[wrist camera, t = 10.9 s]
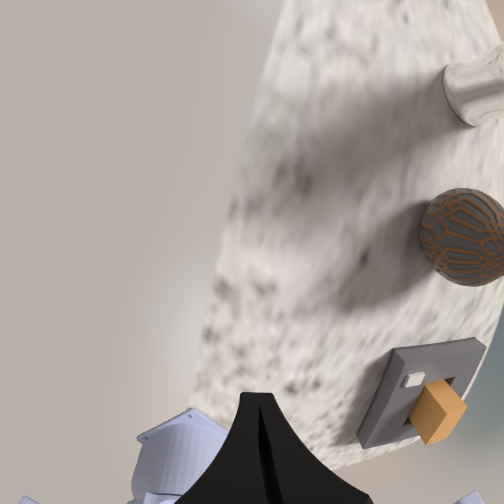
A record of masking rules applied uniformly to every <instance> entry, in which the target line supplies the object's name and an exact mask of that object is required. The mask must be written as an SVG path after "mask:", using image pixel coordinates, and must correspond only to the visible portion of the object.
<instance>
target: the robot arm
mask: <svg viewBox="0 0 504 504" xmlns="http://www.w3.org/2000/svg"><path fill="white" fill-rule="evenodd" d="M137 441H139V442H140V443H142V444H143V445H142V448H141V451H140V454H139V458H138V461H137V464H136V468H135V471H134V475H133V478H132V482H131V489H132V493H133V496H134V498H135V499H134V500H131V501H129V502H127V504H373V501H372V500H371V498H370V496H369V495H368V494H366V493H364V492H362V491H360V490H358V489H357V488H355V487H353V486H351V485H350V484H348V483H347V482H345V481H344V480H343V479H341V478H340V477H338V476H337V475H336V474H335V473H333V472H332V471H331V470H329V469H328V468H327V467H326V466H325V465H323V464H322V463H321V462H320V461H319V460H318V459H317V458H316V457H315V456H314V455H313V454H312V453H311V452H310V451H309V450H308V448H307V447H306V446H305V445H304V444H303V443H302V441H301V440H300V439H299V437H298V436H297V435H296V433H295V432H294V431H293V429H292V428H291V426H290V425H289V423H288V422H287V420H286V418H285V417H284V415H283V413H282V411H281V410H280V408H279V406H278V404H277V402H276V400H275V397H274V395H273V394H272V393H254V392H242V393H241V394H240V401H239V407H238V410H237V414H236V416H235V419H234V422H233V424H232V427H231V429H230V431H227V430H226V429H224V428H223V427H221V426H220V425H218V424H217V423H215V422H214V421H212V420H211V419H209V418H208V417H206V416H205V415H204V414H202V413H201V412H199V411H198V410H196V409H194V408H191V409H188V410H186V411H185V412H183V413H181V414H179V415H177V416H175V417H174V418H172V419H170V420H168V421H166V422H164V423H162V424H160V425H158V426H156V427H154V428H152V429H150V430H148V431H146V432H144V433H142V434H140V435H138V436H137ZM20 504H39V503H37V502H35V501H33V500H32V499H30V498H29V497H27V496H23V497H22V499H21V502H20ZM454 504H484V503H483V501H482V500H481V498H480V496H479V495H478V493H477V491H476V490H474V491H473V492H471V493H469V494H468V495H466V496H464V497H463V498H461V499H460V500H458V501H456V502H455V503H454Z"/></svg>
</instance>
